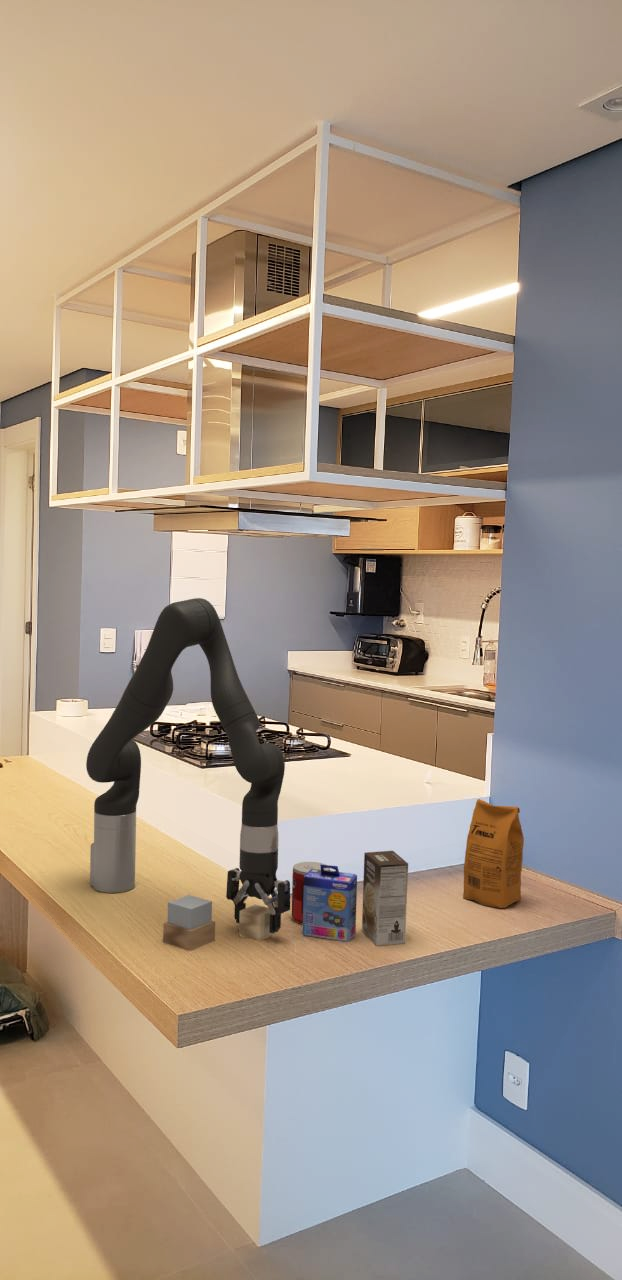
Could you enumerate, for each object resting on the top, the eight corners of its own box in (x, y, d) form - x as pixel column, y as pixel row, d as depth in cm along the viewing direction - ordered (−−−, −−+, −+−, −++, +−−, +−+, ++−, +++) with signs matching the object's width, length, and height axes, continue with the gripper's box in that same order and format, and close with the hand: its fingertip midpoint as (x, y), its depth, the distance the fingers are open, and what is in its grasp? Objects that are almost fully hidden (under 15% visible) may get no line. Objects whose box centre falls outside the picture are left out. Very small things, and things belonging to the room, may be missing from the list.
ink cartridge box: (300, 936, 196) (302, 864, 195) (308, 927, 202) (310, 856, 201) (349, 942, 194) (351, 869, 193) (356, 933, 199) (358, 862, 198)
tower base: (163, 943, 191) (163, 923, 191) (187, 933, 197) (188, 913, 197) (190, 952, 187) (190, 931, 187) (214, 941, 193) (215, 921, 193)
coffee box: (360, 929, 201) (362, 851, 200) (390, 927, 203) (392, 849, 202) (376, 946, 192) (378, 864, 191) (407, 943, 194) (409, 862, 193)
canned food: (307, 910, 212) (308, 859, 211) (336, 919, 207) (338, 867, 206) (283, 919, 206) (284, 866, 205) (313, 928, 201) (314, 874, 200)
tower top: (167, 922, 191) (167, 902, 191) (188, 914, 196) (189, 894, 196) (190, 930, 188) (191, 909, 187) (211, 921, 192) (212, 901, 192)
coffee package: (481, 888, 230) (485, 794, 228) (527, 902, 221) (531, 804, 220) (454, 897, 223) (458, 800, 222) (501, 912, 214) (505, 811, 213)
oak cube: (239, 935, 196) (239, 910, 196) (254, 928, 200) (255, 904, 200) (259, 941, 193) (259, 916, 193) (274, 934, 197) (275, 909, 197)
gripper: (218, 843, 196) (217, 924, 197) (276, 856, 188) (274, 941, 189) (242, 836, 202) (241, 914, 203) (299, 848, 194) (297, 930, 195)
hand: (257, 927), depth 196 cm, fingers open, 8 cm apart
